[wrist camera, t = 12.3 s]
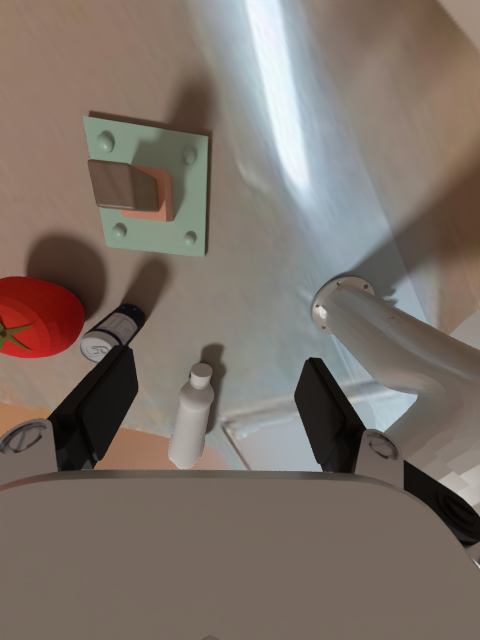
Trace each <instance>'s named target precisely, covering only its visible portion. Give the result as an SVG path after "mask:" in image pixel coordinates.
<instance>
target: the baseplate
mask: <svg viewBox="0 0 480 640" xmlns="http://www.w3.org/2000/svg"><path fill="white" fill-rule="evenodd" d="M83 121H84V127H85V132H86V138H87V143H88V149H89V154H90V159H96V160H105V161H114V162H123V163H128V164H130V165H135V166H142V167H149V168H156V169H163V170H165V171H166V172H168V173H169V174H170V175H172V194H173V221H172V222H163V221H155V220H147V219H138V218H130V217H122V215H121V210H119V209H108V208H101V207H99V208H100V214H101V219H102V225H103V230H104V235H105V241H106V246H107V247H114V248H123V249H133V250H142V251H152V252H161V253H170V254H180V255H189V256H198V257H205V238H206V205H207V173H208V141H209V139H208V136H203V135H197V134H191V133H185V132H179V131H173V130H167V129H160V128H154V127H148V126H142V125H136V124H130V123H124V122H117V121H111V120H105V119H99V118H93V117H87V116H83Z"/></svg>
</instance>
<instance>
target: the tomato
mask: <svg viewBox="0 0 480 640" xmlns="http://www.w3.org/2000/svg"><path fill="white" fill-rule="evenodd" d="M84 322H85V311H84V307H83V305H82V303H81V302H80V301H79V299H78V298H77V297H76V296H75V295H74V294H73V293H72V292H70V291H69V290H67V289H65V288H63V287H61V286H59V285H57V284H54V283H51V282H48V281H44V280H39V279H35V278H29V277H20V276H15V277H6V278H2V279H0V352H1V353H4V354H7V355H11V356H16V357H21V358H41V357H48V356H52V355H55V354H58V353H60V352H62V351H64V350H66V349H68V348H69V347H70V346H71V345H72V344H73V343H74V342H75V341H76V339H77V338H78V336H79V334H80V332H81V330H82V328H83V326H84Z"/></svg>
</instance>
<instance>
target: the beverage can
mask: <svg viewBox="0 0 480 640" xmlns="http://www.w3.org/2000/svg"><path fill="white" fill-rule="evenodd" d="M144 324H145V315H144V313H143V312H142V311H141V310H140V309H139V308H138V307H136V306H134V305H131V304H123V305H120V306H119V307H118V308H116V309H115V310H114V311H113V312H111V313H110V314H109V315H108V316H106V317H105V318H104V319H103V320H102V321H100V322H99V323H98V324H97V325H95V326H94V327H93V328H92V329H90V330H89V331H88V332H87V333H85V334H84V336H83V337H82V341H81V342H80V344H79V350H80V353H81V354H82V355H83V357H84V358H86V359H87V360H89V361H90V362H93V363H96V364H98V363H99V362H100V361H101V360H102V359H103V357H104V356H105V355H106V354H107V353H108V352H109V351H110V350H111V349H112V347H113V346H114V345H127V346H128V345H129V343H130V342H131V341H132V340H133V338H134V337H135V336H136V334H137V333H138V332H139V331H140V329H141V328H142V327H143V326H144Z"/></svg>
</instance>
